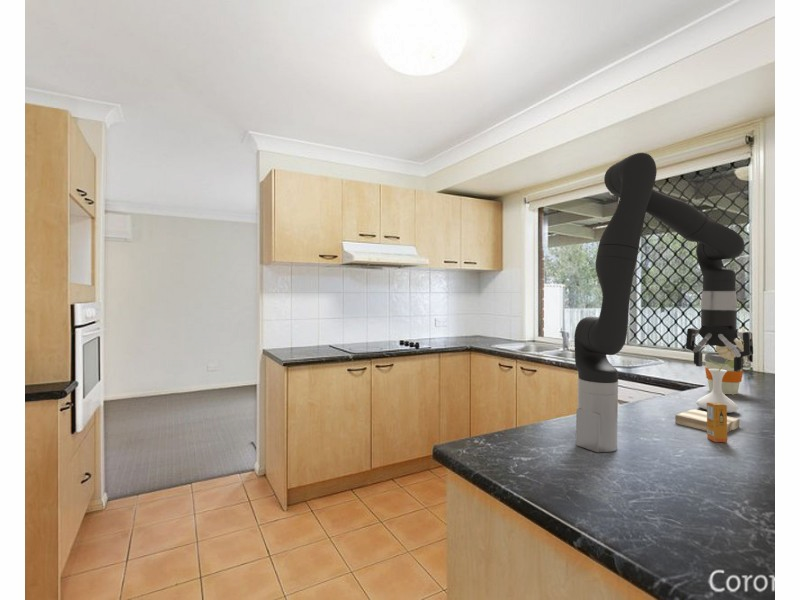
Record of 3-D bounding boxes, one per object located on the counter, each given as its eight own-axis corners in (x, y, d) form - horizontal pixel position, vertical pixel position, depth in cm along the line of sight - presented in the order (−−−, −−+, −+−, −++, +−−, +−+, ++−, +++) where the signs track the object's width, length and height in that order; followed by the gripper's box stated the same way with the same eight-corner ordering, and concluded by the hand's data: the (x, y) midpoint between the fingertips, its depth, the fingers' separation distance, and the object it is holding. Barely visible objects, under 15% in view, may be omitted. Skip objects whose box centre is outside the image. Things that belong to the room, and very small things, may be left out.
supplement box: (718, 438, 112) (719, 401, 111) (727, 443, 108) (728, 405, 108) (705, 438, 112) (706, 401, 112) (714, 442, 108) (714, 405, 108)
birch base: (722, 434, 115) (722, 425, 115) (675, 423, 125) (675, 414, 125) (739, 427, 121) (739, 418, 121) (693, 416, 131) (693, 408, 131)
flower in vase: (692, 410, 139) (693, 336, 138) (700, 404, 146) (701, 334, 146) (741, 419, 129) (743, 339, 129) (747, 412, 137) (749, 337, 136)
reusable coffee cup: (749, 393, 162) (750, 355, 162) (735, 397, 156) (735, 358, 156) (712, 387, 173) (713, 351, 173) (697, 390, 167) (698, 354, 167)
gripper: (682, 307, 113) (681, 366, 114) (746, 309, 101) (745, 374, 102) (694, 307, 118) (693, 363, 118) (757, 308, 106) (756, 371, 106)
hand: (717, 368), depth 110 cm, fingers open, 8 cm apart
